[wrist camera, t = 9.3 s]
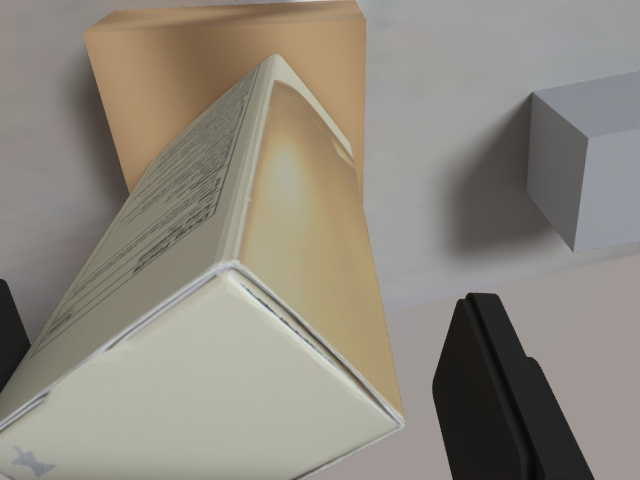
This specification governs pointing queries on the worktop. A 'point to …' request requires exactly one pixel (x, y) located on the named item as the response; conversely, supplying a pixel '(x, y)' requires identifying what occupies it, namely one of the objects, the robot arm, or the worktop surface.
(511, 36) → the worktop surface
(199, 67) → the oak block
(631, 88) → the grey block
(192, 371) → the skincare box
